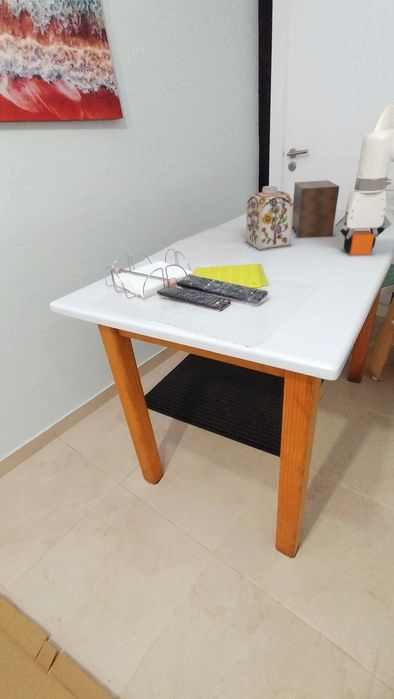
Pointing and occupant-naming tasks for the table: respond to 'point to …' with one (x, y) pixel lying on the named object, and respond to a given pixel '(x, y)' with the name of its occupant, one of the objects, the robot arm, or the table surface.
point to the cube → (361, 242)
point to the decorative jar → (269, 218)
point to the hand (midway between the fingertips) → (357, 250)
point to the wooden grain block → (314, 208)
